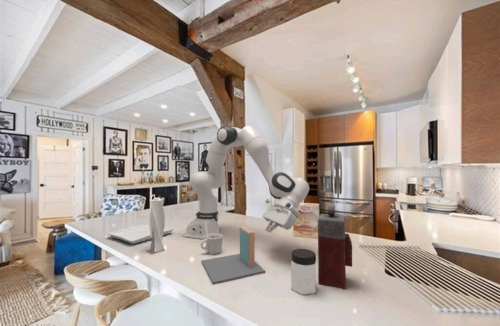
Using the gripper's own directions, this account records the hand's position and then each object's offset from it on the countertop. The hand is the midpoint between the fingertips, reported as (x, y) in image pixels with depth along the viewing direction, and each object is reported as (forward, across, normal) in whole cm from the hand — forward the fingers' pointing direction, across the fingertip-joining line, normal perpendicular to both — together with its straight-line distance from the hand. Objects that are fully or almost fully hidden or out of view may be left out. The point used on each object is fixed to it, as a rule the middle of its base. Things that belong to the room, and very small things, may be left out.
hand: (267, 231), depth 98 cm
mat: (+21, 0, -3) cm, 21 cm away
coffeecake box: (-18, -21, +36) cm, 46 cm away
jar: (+9, +25, +10) cm, 28 cm away
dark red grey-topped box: (0, +26, +19) cm, 32 cm away
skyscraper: (+41, -34, -23) cm, 58 cm away
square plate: (+47, -62, -28) cm, 83 cm away
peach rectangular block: (+16, 0, +1) cm, 16 cm away
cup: (+24, -19, -5) cm, 31 cm away
